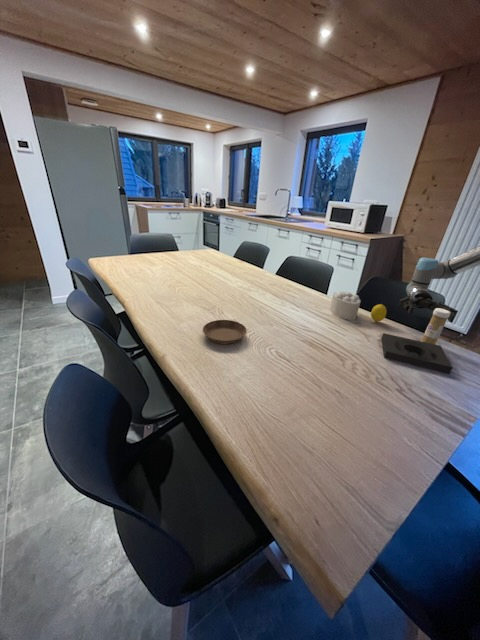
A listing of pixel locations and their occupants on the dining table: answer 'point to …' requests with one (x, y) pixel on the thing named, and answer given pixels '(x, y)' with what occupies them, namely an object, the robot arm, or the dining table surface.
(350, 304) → the lumpy-topped squat cylinder
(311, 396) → the dining table surface
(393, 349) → the dock pad
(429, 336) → the sprinkles bottle
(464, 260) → the robot arm
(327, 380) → the dining table surface
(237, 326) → the saucer
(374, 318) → the lemon
